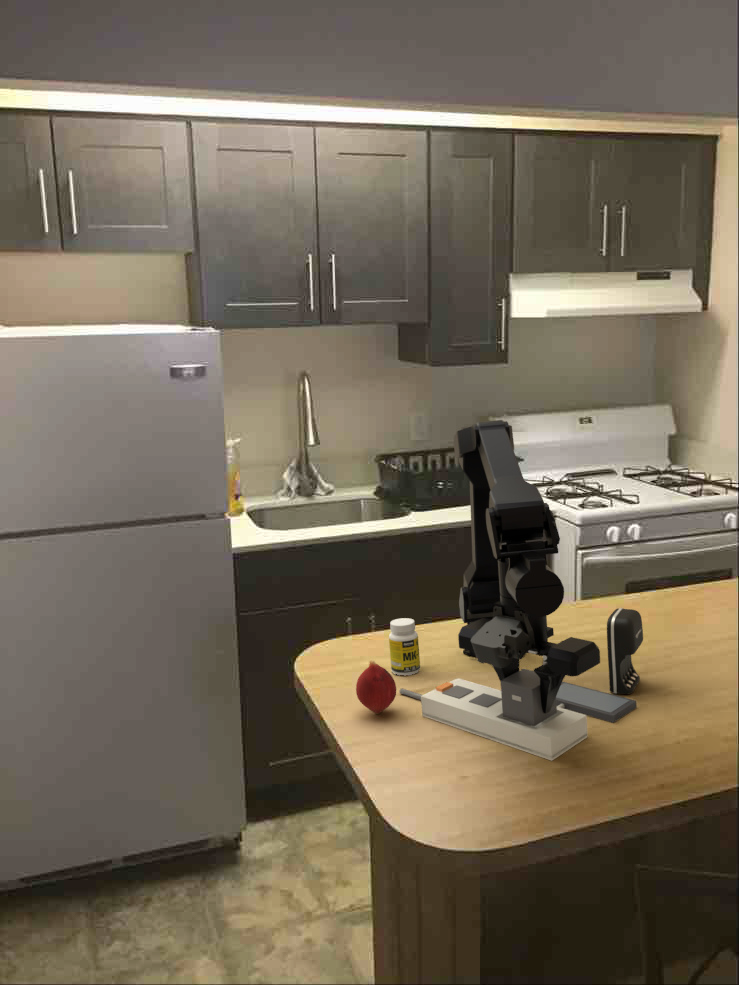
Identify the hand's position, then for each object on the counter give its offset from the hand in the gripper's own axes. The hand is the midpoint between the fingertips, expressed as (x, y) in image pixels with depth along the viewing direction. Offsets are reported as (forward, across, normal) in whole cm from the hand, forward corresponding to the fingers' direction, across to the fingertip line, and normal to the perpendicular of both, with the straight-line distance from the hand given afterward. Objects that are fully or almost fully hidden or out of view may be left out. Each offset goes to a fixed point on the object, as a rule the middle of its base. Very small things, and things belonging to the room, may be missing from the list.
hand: (529, 707), depth 110 cm
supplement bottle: (+4, -30, +7) cm, 31 cm away
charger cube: (+1, 0, 0) cm, 1 cm away
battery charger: (+4, +2, +21) cm, 21 cm away
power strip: (+4, -9, 0) cm, 10 cm away
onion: (+4, -22, -7) cm, 23 cm away
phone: (+4, 0, +9) cm, 10 cm away
